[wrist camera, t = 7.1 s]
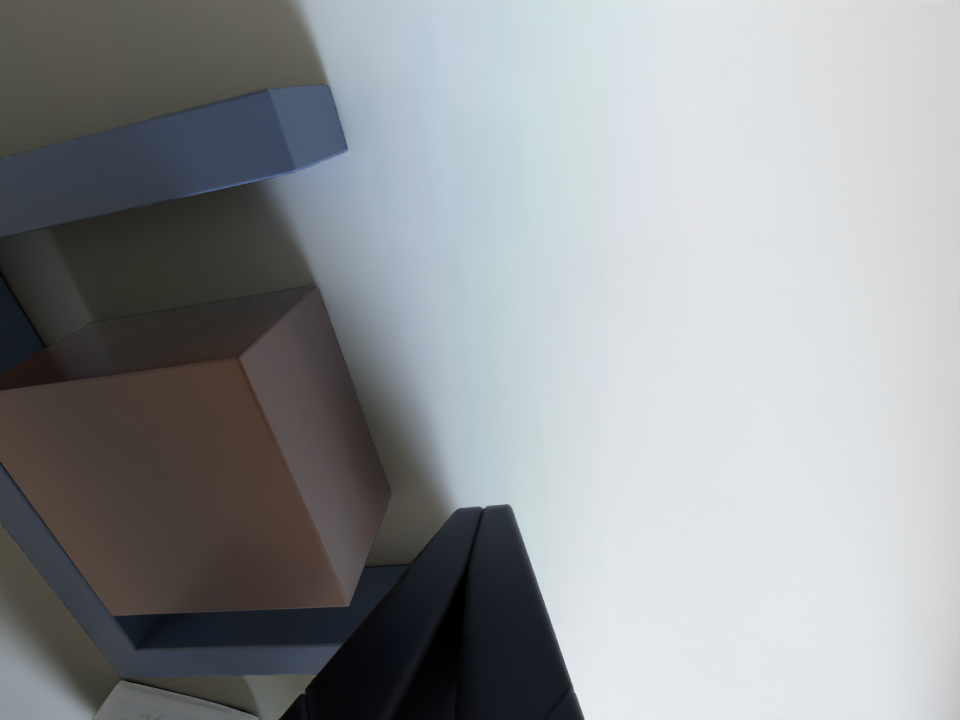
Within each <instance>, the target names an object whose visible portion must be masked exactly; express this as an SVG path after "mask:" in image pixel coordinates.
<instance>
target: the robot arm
mask: <svg viewBox="0 0 960 720" xmlns="http://www.w3.org/2000/svg"><path fill="white" fill-rule="evenodd" d="M305 694H306V695H305ZM305 694H300V695H299V696H298V698H297V699H296V700H295V701H294V702H293V704H292V705H291V706H290V707H289V708H288V709H287V711H286V712H285V713H284V714H283V715H282V717H281V718H280V719H279V720H585V719H584V716H583V714H582V711H581V708H580V705H579V702H578V699H577V696H576V694H575V693H574V689H573V685H572V682H571V679H570V676H569V674H568V671H567V668H566V665H565V662H564V659H563V656H562V653H561V650H560V647H559V644H558V641H557V638H556V635H555V633H554V630H553V627H552V624H551V621H550V618H549V615H548V612H547V609H546V606H545V603H544V600H543V597H542V595H541V592H540V589H539V586H538V583H537V580H536V577H535V574H534V571H533V568H532V565H531V562H530V559H529V556H528V554H527V551H526V548H525V545H524V542H523V539H522V536H521V533H520V530H519V527H518V524H517V521H516V518H515V515H514V513H513V510H512V507H511V506H510V505H508V504H505V505H493V506H487V507H486V508H484V509H483V508H482V507H468V508H460V509H457V510H456V511H455V512H454V513H453V514H452V515H451V517H450V518H449V519H448V520H447V521H446V522H445V524H444V525H443V526H442V527H441V528H440V530H439V531H438V532H437V533H436V534H435V536H434V537H433V538H432V539H431V540H430V541H429V543H428V544H427V545H426V546H425V547H424V549H423V550H422V551H421V552H420V553H419V554H418V556H417V557H416V558H415V559H414V560H413V562H412V563H411V564H410V565H409V566H408V568H407V569H406V570H405V571H404V572H403V573H402V575H401V576H400V577H399V578H398V579H397V581H396V582H395V583H394V584H393V585H392V587H391V588H390V589H389V590H388V591H387V592H386V594H385V595H384V596H383V597H382V598H381V600H380V601H379V602H378V603H377V604H376V605H375V607H374V608H373V609H372V610H371V611H370V613H369V614H368V615H367V616H366V617H365V619H364V620H363V621H362V622H361V623H360V624H359V626H358V627H357V628H356V629H355V630H354V632H353V633H352V634H351V635H350V636H349V637H348V639H347V640H346V641H345V642H344V643H343V645H342V646H341V647H340V648H339V649H338V651H337V652H336V653H335V654H334V655H333V656H332V658H331V659H330V660H329V661H328V662H327V664H326V665H325V666H324V667H323V668H322V669H321V671H320V672H319V673H318V674H317V675H316V677H315V678H314V679H313V680H312V681H311V683H310V684H309V685H308V686H307V687H306V689H305Z"/></svg>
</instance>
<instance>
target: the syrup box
mask: <svg viewBox="0 0 960 720" xmlns="http://www.w3.org/2000/svg"><path fill="white" fill-rule="evenodd" d="M92 720H260V719H259V718H257V717H255V716H253V715H250V714H247V713H245V712H242V711H239V710H236V709H233V708H230V707H227V706H224V705H220V704H216V703H213V702H209V701H205V700H201V699H198V698H195V697H190V696H186V695H182V694H178V693H174V692H170V691H165V690H161V689H157V688H153V687H149V686H144V685H139V684H135V683H129V682H126V681H120V682H119V684H117V685H116V686H115V688H114V689H113V690H112V691H111V693H110V694H109V696H108V697H107V699H106V700H105V702H104V703H103V705H102V706H101V707H100V709H99V710H98V712H97V713H96V715H95V716H94V718H93V719H92Z"/></svg>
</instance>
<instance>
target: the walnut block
mask: <svg viewBox="0 0 960 720" xmlns="http://www.w3.org/2000/svg"><path fill="white" fill-rule="evenodd" d="M0 462H1V463H2V464H3V466H4V467H5V469H6V470H7V471H8V473H9V474H10V476H11V477H12V478H13V480H14V481H15V482H16V484H17V485H18V487H19V488H20V489H21V491H22V492H23V494H24V495H25V496H26V498H27V499H28V500H29V502H30V503H31V505H32V506H33V507H34V509H35V510H36V512H37V513H38V514H39V516H40V517H41V518H42V520H43V521H44V523H45V524H46V525H47V527H48V528H49V530H50V531H51V532H52V534H53V535H54V536H55V538H56V539H57V541H58V542H59V543H60V545H61V546H62V548H63V549H64V550H65V552H66V553H67V554H68V556H69V557H70V559H71V560H72V561H73V563H74V564H75V566H76V567H77V568H78V570H79V571H80V572H81V574H82V575H83V577H84V578H85V579H86V581H87V582H88V584H89V585H90V586H91V588H92V589H93V590H94V592H95V593H96V595H97V596H98V597H99V599H100V600H101V602H102V603H103V604H104V606H105V607H106V608H107V610H108V611H109V613H110V614H111V615H113V616H122V615H147V614H171V613H196V612H221V611H246V610H270V609H295V608H320V607H345V606H349V604H350V602H351V599H352V597H353V594H354V592H355V589H356V586H357V584H358V581H359V579H360V576H361V574H362V571H363V568H364V566H365V563H366V561H367V558H368V555H369V553H370V550H371V548H372V545H373V542H374V540H375V537H376V535H377V532H378V530H379V527H380V524H381V522H382V519H383V517H384V514H385V511H386V509H387V506H388V504H389V501H390V498H391V492H390V489H389V487H388V484H387V481H386V478H385V475H384V472H383V470H382V467H381V464H380V461H379V458H378V455H377V453H376V450H375V447H374V444H373V441H372V438H371V436H370V433H369V430H368V427H367V424H366V421H365V419H364V416H363V413H362V410H361V407H360V404H359V402H358V399H357V396H356V393H355V390H354V387H353V385H352V382H351V379H350V376H349V373H348V370H347V368H346V365H345V362H344V359H343V356H342V353H341V351H340V348H339V345H338V342H337V339H336V336H335V334H334V331H333V328H332V325H331V322H330V319H329V317H328V314H327V311H326V308H325V305H324V302H323V300H322V297H321V294H320V291H319V288H318V287H317V286H309V287H303V288H297V289H291V290H285V291H279V292H273V293H267V294H261V295H255V296H249V297H243V298H237V299H231V300H225V301H219V302H213V303H208V304H202V305H196V306H190V307H184V308H178V309H172V310H166V311H160V312H154V313H148V314H142V315H136V316H130V317H124V318H118V319H112V320H106V321H100V322H94V323H90V324H88V325H87V326H85V327H83V328H81V329H79V330H78V331H76V332H74V333H72V334H70V335H68V336H67V337H65V338H63V339H61V340H59V341H58V342H56V343H54V344H52V345H50V346H48V347H47V348H45V349H43V350H41V351H39V352H38V353H36V354H34V355H32V356H30V357H28V358H27V359H25V360H23V361H21V362H19V363H18V364H16V365H14V366H12V367H10V368H8V369H7V370H5V371H3V372H1V373H0Z"/></svg>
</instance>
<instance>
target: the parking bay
mask: <svg viewBox="0 0 960 720" xmlns="http://www.w3.org/2000/svg"><path fill="white" fill-rule="evenodd" d="M347 151H348V148H347V144H346V141H345V138H344V134H343V131H342V128H341V124H340V121H339V118H338V114H337V111H336V108H335V104H334V101H333V98H332V95H331V91H330V88H329V86H328V84H320V85H307V86H294V87H281V88H268V89H263V90H259V91H255V92H251V93H247V94H243V95H240V96H236V97H232V98H228V99H224V100H220V101H217V102H213V103H209V104H205V105H201V106H197V107H194V108H190V109H186V110H182V111H178V112H174V113H171V114H167V115H163V116H159V117H155V118H151V119H148V120H144V121H140V122H136V123H132V124H128V125H125V126H121V127H117V128H113V129H109V130H105V131H102V132H98V133H94V134H90V135H86V136H82V137H79V138H75V139H71V140H67V141H63V142H59V143H56V144H52V145H48V146H44V147H40V148H36V149H33V150H29V151H25V152H21V153H17V154H13V155H10V156H6V157H2V158H0V238H4V237H9V236H13V235H18V234H22V233H27V232H31V231H36V230H40V229H45V228H49V227H54V226H58V225H63V224H67V223H71V222H76V221H80V220H85V219H89V218H94V217H98V216H103V215H107V214H112V213H116V212H121V211H125V210H130V209H134V208H139V207H143V206H148V205H152V204H157V203H161V202H165V201H170V200H174V199H179V198H183V197H188V196H192V195H197V194H201V193H206V192H210V191H215V190H219V189H224V188H228V187H233V186H237V185H242V184H246V183H250V182H255V181H259V180H264V179H268V178H273V177H277V176H282V175H286V174H291V173H295V172H297V171H300V170H302V169H305V168H307V167H310V166H312V165H315V164H317V163H320V162H322V161H325V160H327V159H330V158H332V157H335V156H337V155H339V154H342V153H344V152H347ZM43 349H45V347H44V346H43V344H42V342H41V341H40V339H39V337H38V336H37V334H36V333H35V331H34V329H33V328H32V326H31V325H30V323H29V321H28V320H27V318H26V317H25V315H24V313H23V312H22V310H21V308H20V307H19V305H18V304H17V302H16V300H15V299H14V297H13V296H12V294H11V292H10V291H9V289H8V287H7V286H6V284H5V283H4V281H3V279H2V278H1V276H0V373H1V372H3V371H5V370H7V369H8V368H10V367H12V366H14V365H16V364H18V363H19V362H21V361H23V360H25V359H27V358H28V357H30V356H32V355H34V354H36V353H38V352H39V351H41V350H43ZM0 523H1V524H2V525H3V526H4V528H5V529H6V530H7V532H8V533H9V534H10V535H11V537H12V538H13V539H14V541H15V542H16V543H17V544H18V546H19V547H20V548H21V550H22V551H23V552H24V553H25V555H26V556H27V557H28V559H29V560H30V561H31V562H32V564H33V565H34V566H35V568H36V569H37V570H38V571H39V573H40V574H41V575H42V577H43V578H44V579H45V580H46V582H47V583H48V584H49V586H50V587H51V588H52V589H53V591H54V592H55V593H56V595H57V596H58V597H59V598H60V600H61V601H62V602H63V604H64V605H65V606H66V607H67V609H68V610H69V611H70V613H71V614H72V615H73V616H74V618H75V619H76V620H77V622H78V623H79V624H80V625H81V627H82V628H83V629H84V631H85V632H86V633H87V634H88V636H89V637H90V638H91V640H92V641H93V642H94V643H95V645H96V646H97V647H98V649H99V650H100V651H101V652H102V654H103V655H104V656H105V658H106V659H107V660H108V661H109V663H110V664H111V665H112V667H113V668H114V669H115V671H116V672H117V673H118V674H119V676H120V677H122V678H132V677H188V676H244V675H300V674H318V673H319V672H320V671H321V669H322V668H323V667H324V666H325V665H326V664H327V662H328V661H329V660H330V659H331V658H332V656H333V655H334V654H335V653H336V652H337V651H338V649H339V648H340V647H341V646H342V645H343V643H344V642H345V641H346V640H347V639H348V637H349V636H350V635H351V634H352V633H353V632H354V630H355V629H356V628H357V627H358V626H359V624H360V623H361V622H362V621H363V620H364V619H365V617H366V616H367V615H368V614H369V613H370V611H371V610H372V609H373V608H374V607H375V605H376V604H377V603H378V602H379V601H380V600H381V598H382V597H383V596H384V595H385V594H386V592H387V591H388V590H389V589H390V588H391V587H392V585H393V584H394V583H395V582H396V581H397V579H398V578H399V577H400V576H401V575H402V573H403V572H404V571H405V570H406V569H407V568H408V566H409V565H405V566H388V567H371V568H363V571H362V574H361V576H360V579H359V581H358V584H357V586H356V589H355V592H354V594H353V597H352V599H351V602H350V604H349V606H345V607H320V608H295V609H270V610H246V611H221V612H196V613H171V614H147V615H122V616H113V615H111V614H110V613H109V611H108V610H107V608H106V607H105V606H104V604H103V603H102V602H101V600H100V599H99V597H98V596H97V595H96V593H95V592H94V590H93V589H92V588H91V586H90V585H89V584H88V582H87V581H86V579H85V578H84V577H83V575H82V574H81V572H80V571H79V570H78V568H77V567H76V566H75V564H74V563H73V561H72V560H71V559H70V557H69V556H68V554H67V553H66V552H65V550H64V549H63V548H62V546H61V545H60V543H59V542H58V541H57V539H56V538H55V536H54V535H53V534H52V532H51V531H50V530H49V528H48V527H47V525H46V524H45V523H44V521H43V520H42V518H41V517H40V516H39V514H38V513H37V512H36V510H35V509H34V507H33V506H32V505H31V503H30V502H29V500H28V499H27V498H26V496H25V495H24V494H23V492H22V491H21V489H20V488H19V487H18V485H17V484H16V482H15V481H14V480H13V478H12V477H11V476H10V474H9V473H8V471H7V470H6V469H5V467H4V466H3V464H2V463H1V462H0Z"/></svg>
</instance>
